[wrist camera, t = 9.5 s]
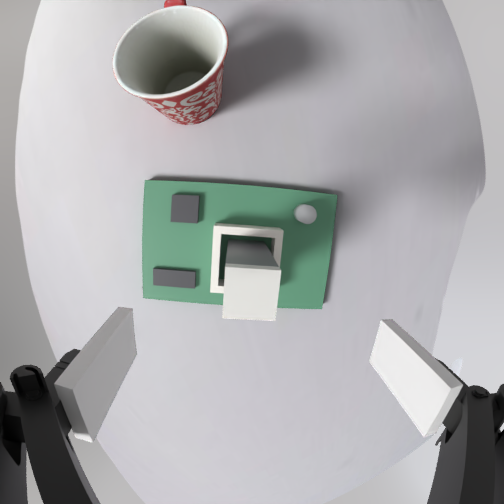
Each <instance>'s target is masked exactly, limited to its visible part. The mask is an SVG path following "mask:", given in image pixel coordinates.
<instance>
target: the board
mask: <svg viewBox="0 0 504 504" xmlns="http://www.w3.org/2000/svg"><path fill="white" fill-rule="evenodd" d="M336 204H337V195H333V194H326V193H318V192H310V191H301V190H292V189H282V188H272V187H261V186H250V185H237V184H223V183H206V182H186V181H157V180H145V186H144V203H143V234H142V270H143V298H148V299H158V300H168V301H179V302H191V303H203V304H217V305H223V297H224V279H225V265H226V255H227V246H228V239H239V240H253V241H264V242H265V244H266V245H267V247H268V249H269V250H270V252H271V254H272V256H273V257H274V259H275V261H276V262H277V264H278V266H279V267H280V269H281V278H280V287H279V295H278V303H277V308H299V309H322V305H323V300H324V294H325V288H326V281H327V275H328V268H329V261H330V254H331V247H332V239H333V231H334V222H335V213H336Z"/></svg>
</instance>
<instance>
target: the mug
mask: <svg viewBox="0 0 504 504" xmlns="http://www.w3.org/2000/svg"><path fill="white" fill-rule="evenodd" d="M227 50H228V34H227V31H226V29H225V26H224V25H223V23H222V22H221V21H220V19H218V18H217V17H216V16H215V15H214V14H212V13H211V12H209V11H207V10H205V9H202V8H199V7H194V6H187V4H186V0H166V1H165V3H164V8H162V9H159V10H156V11H154V12H151V13H149V14H147V15H145V16H144V17H142V18H140V19H139V20H138V21H136V22H135V23H134V24H133V25H132V26H130V27H129V28H128V29H127V31H126V32H125V33H124V34H123V35H122V37H121V38H120V40H119V42H118V44H117V46H116V48H115V51H114V54H113V72H114V75H115V78H116V80H117V82H118V83H119V84H120V86H121V87H122V88H123V89H124V90H125V91H127V92H128V93H130V94H132V95H134V96H137V97H140V98H141V99H143V100H144V101H145V102H147V103H148V104H150V105H151V106H152V107H154V108H155V109H156V110H158V111H159V112H161V113H162V114H163V115H165V116H166V117H168V118H169V119H170V120H172V121H174V122H176V123H179V124H184V125H192V124H197V123H200V122H203V121H205V120H206V119H208V118H209V117H210V116H212V115H213V114H214V113H215V111H216V110H217V108H218V106H219V104H220V101H221V95H222V81H223V68H224V59H225V57H226V54H227Z"/></svg>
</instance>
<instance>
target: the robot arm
mask: <svg viewBox="0 0 504 504" xmlns="http://www.w3.org/2000/svg"><path fill="white" fill-rule="evenodd" d="M136 355H137V351H136V343H135V333H134V322H133V310H132V308H124V307H118V308H117V309H116V310H115V312H114V313H113V314H112V315H111V316H110V317H109V318H108V320H107V321H106V322H105V323H104V324H103V325H102V326H101V328H100V329H99V330H98V331H97V332H96V333H95V334H94V336H93V337H92V338H91V339H90V340H89V341H88V343H87V344H86V345H85V346H84V347H83V349H82V350H77V349H73V350H71V351H70V352H68V353H66V354H65V355H64V356H63V357H62V358H61V359H60V362H58V363H57V364H56V365H55V367H53V369H52V370H51V371H50V372H49V373H48V375H47V376H46V377H45V378H44V376H43V373H42V371H41V369H40V368H38V367H37V366H33V365H23V366H20V367H18V368H16V369H15V370H14V371H13V372H12V373H11V376H10V380H11V382H12V385H13V387H14V389H15V392H8V391H4V388H3V386H2V384H1V382H0V504H28V501H27V484H26V450H27V451H28V456H29V459H30V463H31V466H32V470H33V474H34V477H35V480H36V483H37V486H38V489H39V492H40V495H41V498H42V500H43V503H44V504H100V502H99V500H98V498H97V497H96V495H95V493H94V491H93V489H92V487H91V486H90V484H89V481H88V479H87V477H86V475H85V473H84V471H83V469H82V467H81V465H80V462H79V460H78V458H77V456H76V453H75V451H74V448H73V446H72V444H71V441H70V439H69V437H68V433H69V432H70V430H71V428H72V430H73V432H74V435H75V437H76V438H79V439H82V440H85V441H88V442H91V443H93V442H94V440H95V438H96V436H97V434H98V431H99V429H100V427H101V425H102V423H103V421H104V419H105V417H106V415H107V412H108V410H109V408H110V406H111V404H112V402H113V400H114V398H115V396H116V394H117V392H118V390H119V388H120V386H121V384H122V382H123V380H124V378H125V376H126V374H127V372H128V371H129V369H130V367H131V365H132V363H133V361H134V359H135V357H136ZM369 362H370V363H371V365H372V366H373V368H374V369H375V370H376V372H377V373H378V374H379V376H380V377H381V378H382V380H383V381H384V382H385V384H386V385H387V387H388V388H389V389H390V391H391V392H392V393H393V395H394V396H395V398H396V399H397V400H398V402H399V403H400V404H401V406H402V407H403V409H404V410H405V411H406V413H407V414H408V416H409V417H410V418H411V420H412V421H413V423H414V424H415V426H416V427H417V428H418V430H419V431H420V433H421V434H422V435H423V437H427V436H429V435H432V434H435V433H436V432H437V431H438V430H439V428H440V426H441V425H442V423H443V424H444V426H445V427H446V428H445V430H444V431H443V433H442V434H441V436H440V437H439V439H438V440H437V442H436V444H435V445H438V443H439V442H440V441H441V445H440V452H439V457H438V462H437V467H436V472H435V476H434V480H433V484H432V488H431V492H430V495H429V499H428V502H427V504H504V430H503V431H502V432H501V431H500V427H501V426H502V424H503V423H504V384H502V385H501V386H500V388H499V389H498V391H497V393H494V394H490V393H489V392H488V391H487V390H486V389H484V388H483V387H480V386H475V385H473V386H470V387H468V386H467V385H466V384H465V383H464V382H463V381H462V380H461V379H460V378H459V377H458V376H457V375H456V374H455V373H453V371H452V370H451V369H448V367H447V366H446V365H445V364H444V363H443V362H441V361H440V360H437V359H436V358H434V357H433V356H432V355H431V354H430V353H429V352H428V351H427V350H426V349H425V348H424V347H422V346H421V345H420V344H419V343H418V342H417V341H416V340H415V339H414V338H413V337H411V336H410V335H409V334H408V333H407V332H406V331H405V330H404V329H402V328H401V327H400V326H399V325H398V324H397V323H396V322H395V321H393V320H392V319H386V320H381V322H380V325H379V329H378V333H377V336H376V340H375V343H374V347H373V350H372V354H371V357H370V360H369Z"/></svg>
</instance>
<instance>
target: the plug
mask: <svg viewBox="0 0 504 504" xmlns="http://www.w3.org/2000/svg"><path fill="white" fill-rule="evenodd" d="M280 278H281V269H280V267H279V266H278V264H277V262H276V261H275V259H274V257H273V256H272V254H271V252H270V250H269V249H268V247H267V245H266V244H265V242H264V241H253V240H239V239H228V246H227V255H226V265H225V279H224V297H223V316H222V318H226V319H243V320H265V321H275V319H276V311H277V303H278V295H279V287H280Z"/></svg>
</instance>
